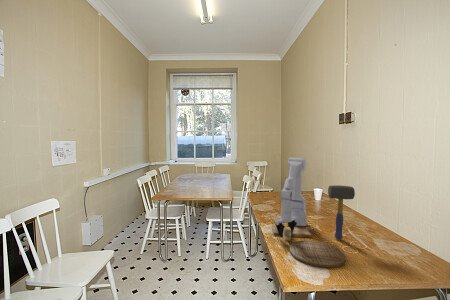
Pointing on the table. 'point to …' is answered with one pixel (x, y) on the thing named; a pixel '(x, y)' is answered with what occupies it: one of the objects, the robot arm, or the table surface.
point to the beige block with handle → (287, 233)
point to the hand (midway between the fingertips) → (285, 235)
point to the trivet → (317, 254)
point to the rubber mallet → (340, 204)
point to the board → (295, 232)
